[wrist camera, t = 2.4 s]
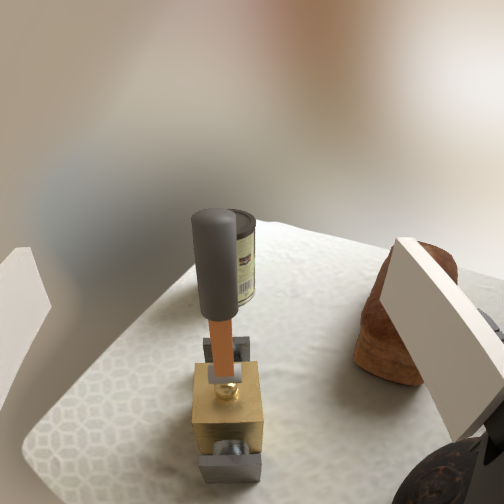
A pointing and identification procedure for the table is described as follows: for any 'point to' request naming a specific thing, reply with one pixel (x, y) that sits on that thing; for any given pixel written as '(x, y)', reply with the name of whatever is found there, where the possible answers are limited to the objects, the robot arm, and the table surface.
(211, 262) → the lever
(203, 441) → the valve pipe
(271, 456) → the table surface
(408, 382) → the bread
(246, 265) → the coffee can
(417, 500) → the dark onion bottle
